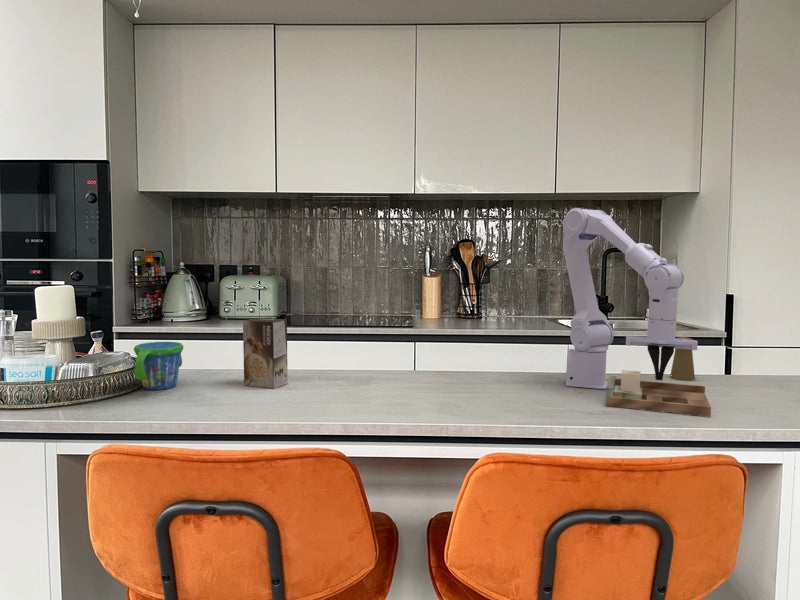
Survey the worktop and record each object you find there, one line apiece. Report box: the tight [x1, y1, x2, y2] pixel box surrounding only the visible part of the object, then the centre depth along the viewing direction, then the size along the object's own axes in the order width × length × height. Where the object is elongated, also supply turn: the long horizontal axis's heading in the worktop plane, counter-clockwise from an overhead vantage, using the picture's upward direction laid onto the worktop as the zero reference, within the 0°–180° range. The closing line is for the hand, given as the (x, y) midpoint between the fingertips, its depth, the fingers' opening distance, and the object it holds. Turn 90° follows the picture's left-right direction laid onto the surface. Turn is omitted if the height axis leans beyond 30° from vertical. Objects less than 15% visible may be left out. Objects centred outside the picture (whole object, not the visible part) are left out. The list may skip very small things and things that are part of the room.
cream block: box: [620, 369, 641, 392], centre depth 134 cm, size 4×4×4 cm
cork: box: [669, 336, 696, 382], centre depth 157 cm, size 6×6×11 cm
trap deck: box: [605, 375, 712, 417], centre depth 129 cm, size 20×14×4 cm
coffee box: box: [242, 317, 289, 389], centre depth 143 cm, size 9×6×16 cm
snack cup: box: [133, 341, 184, 391], centre depth 139 cm, size 16×10×10 cm
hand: (658, 379), depth 132 cm, fingers closed
